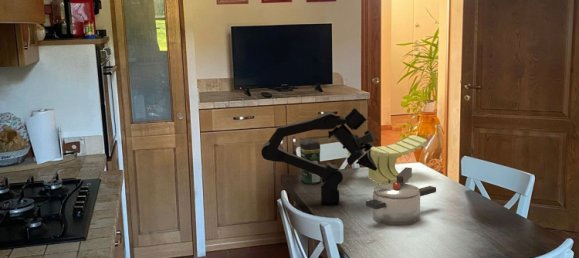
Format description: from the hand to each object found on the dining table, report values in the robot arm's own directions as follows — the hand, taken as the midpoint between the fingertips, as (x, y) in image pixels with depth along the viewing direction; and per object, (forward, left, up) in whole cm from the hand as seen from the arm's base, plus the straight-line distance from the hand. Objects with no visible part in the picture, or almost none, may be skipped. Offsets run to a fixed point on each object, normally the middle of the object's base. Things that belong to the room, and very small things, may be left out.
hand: (376, 169), depth 218 cm
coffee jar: (-25, +36, -14) cm, 46 cm away
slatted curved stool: (+8, +39, -14) cm, 42 cm away
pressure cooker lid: (+8, -10, -4) cm, 13 cm away
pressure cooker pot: (+8, -13, -13) cm, 21 cm away
